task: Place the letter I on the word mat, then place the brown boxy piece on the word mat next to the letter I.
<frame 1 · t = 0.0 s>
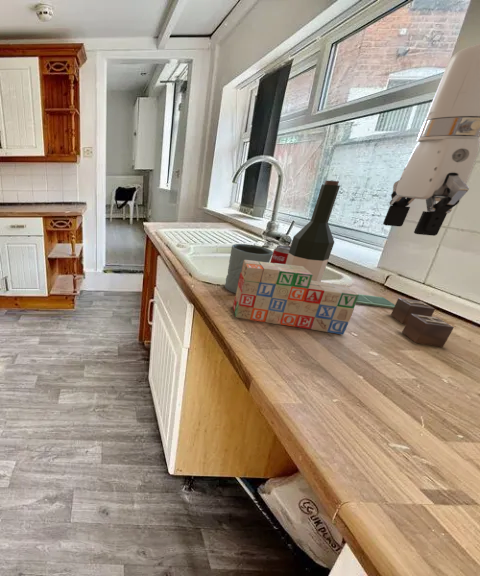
hand: (407, 229, 60), 22 cm above the countertop, tool pointing down, fingers open, 9 cm apart
brown boxy piece: (421, 339, 64), on the countertop
stack of blocks: (283, 320, 70), on the countertop
wine bottle: (293, 302, 80), on the countertop
dark grey cylindrical piece: (241, 290, 86), on the countertop
beverage can: (274, 288, 90), on the countertop
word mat: (366, 300, 83), on the countertop
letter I: (407, 320, 73), on the countertop
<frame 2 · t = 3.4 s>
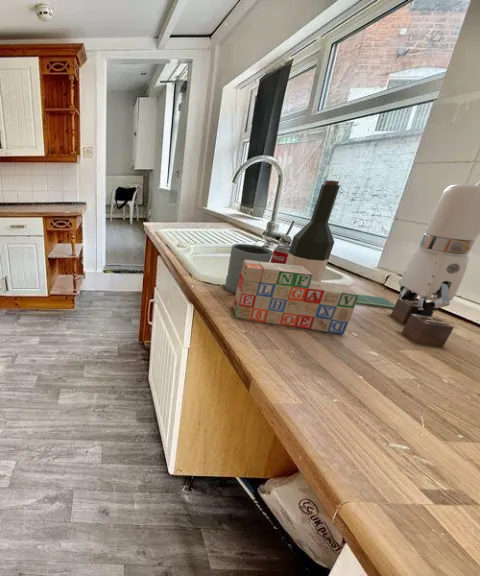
hand: (408, 319, 73), 0 cm above the countertop, tool pointing down, fingers closed on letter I, 4 cm apart
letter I: (407, 320, 73), on the countertop, touching gripper
everything else where it was.
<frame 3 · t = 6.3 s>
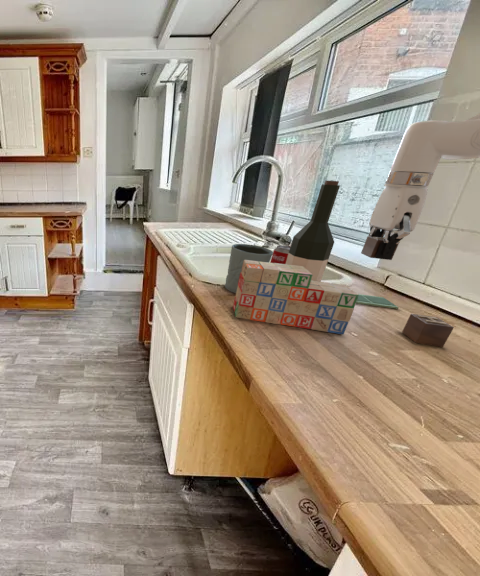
hand: (376, 255, 78), 13 cm above the countertop, tool pointing down, fingers closed on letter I, 4 cm apart
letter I: (375, 256, 78), point 12 cm above the countertop, touching gripper
everything else where it was.
when the fingers open (1 cm above the countertop, at t = 9.3 s): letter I stays where it is, resting on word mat.
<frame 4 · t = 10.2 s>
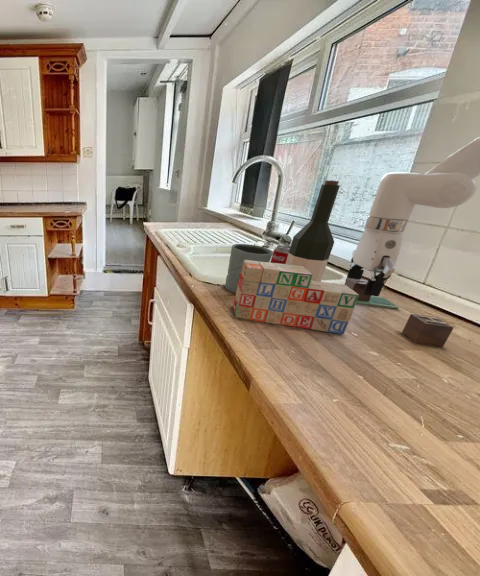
hand: (360, 288, 83), 3 cm above the countertop, tool pointing down, fingers open, 9 cm apart
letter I: (354, 296, 84), point 1 cm above the countertop, touching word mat
everything else where it was.
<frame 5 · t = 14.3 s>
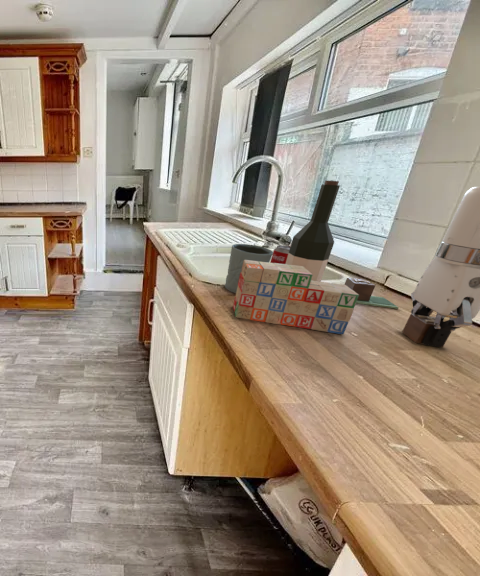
hand: (422, 337, 64), 0 cm above the countertop, tool pointing down, fingers closed on brown boxy piece, 4 cm apart
brown boxy piece: (421, 339, 64), on the countertop, touching gripper
everything else where it was.
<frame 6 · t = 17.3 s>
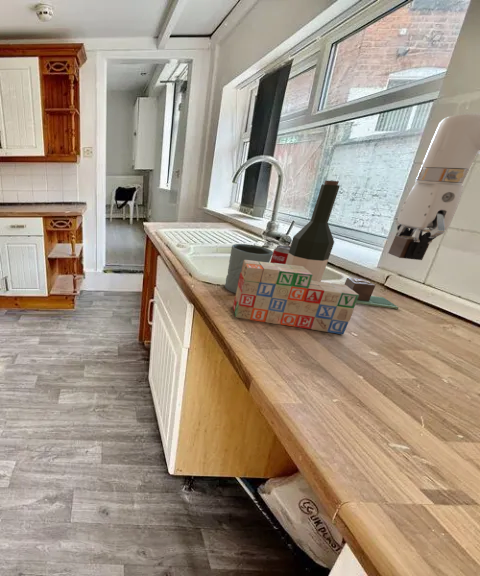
hand: (405, 255, 75), 14 cm above the countertop, tool pointing down, fingers closed on brown boxy piece, 4 cm apart
brown boxy piece: (404, 256, 75), point 14 cm above the countertop, touching gripper
everything else where it was.
when the fingers open (1 cm above the countertop, at t = 20.7 s): brown boxy piece stays where it is, resting on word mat.
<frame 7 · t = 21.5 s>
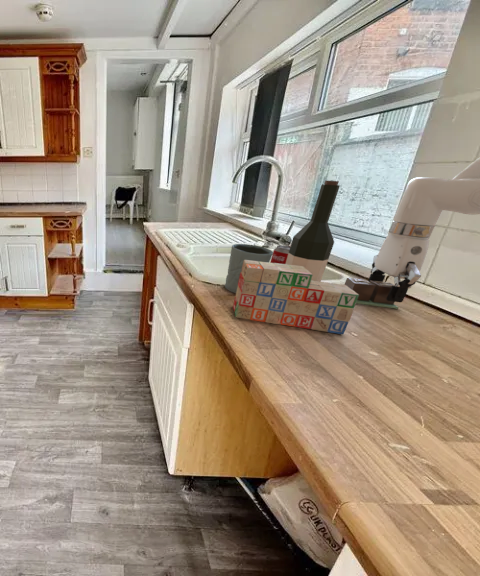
hand: (382, 294, 82), 2 cm above the countertop, tool pointing down, fingers open, 9 cm apart
brown boxy piece: (378, 300, 83), point 1 cm above the countertop, touching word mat
everything else where it was.
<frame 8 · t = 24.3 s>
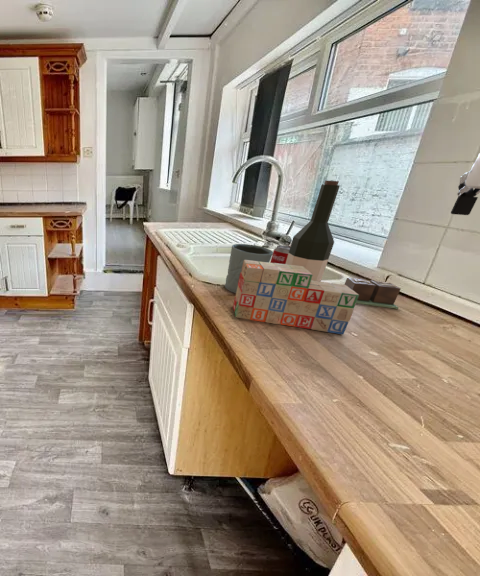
hand: (477, 217, 66), 24 cm above the countertop, tool pointing down, fingers open, 9 cm apart
nothing on the countertop moved.
at the end: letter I 0.0 cm from the target spot on the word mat, point 0.6 cm above the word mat's base; brown boxy piece 0.2 cm from the target spot on the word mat, point 0.6 cm above the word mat's base; brown boxy piece tilted 0° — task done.
